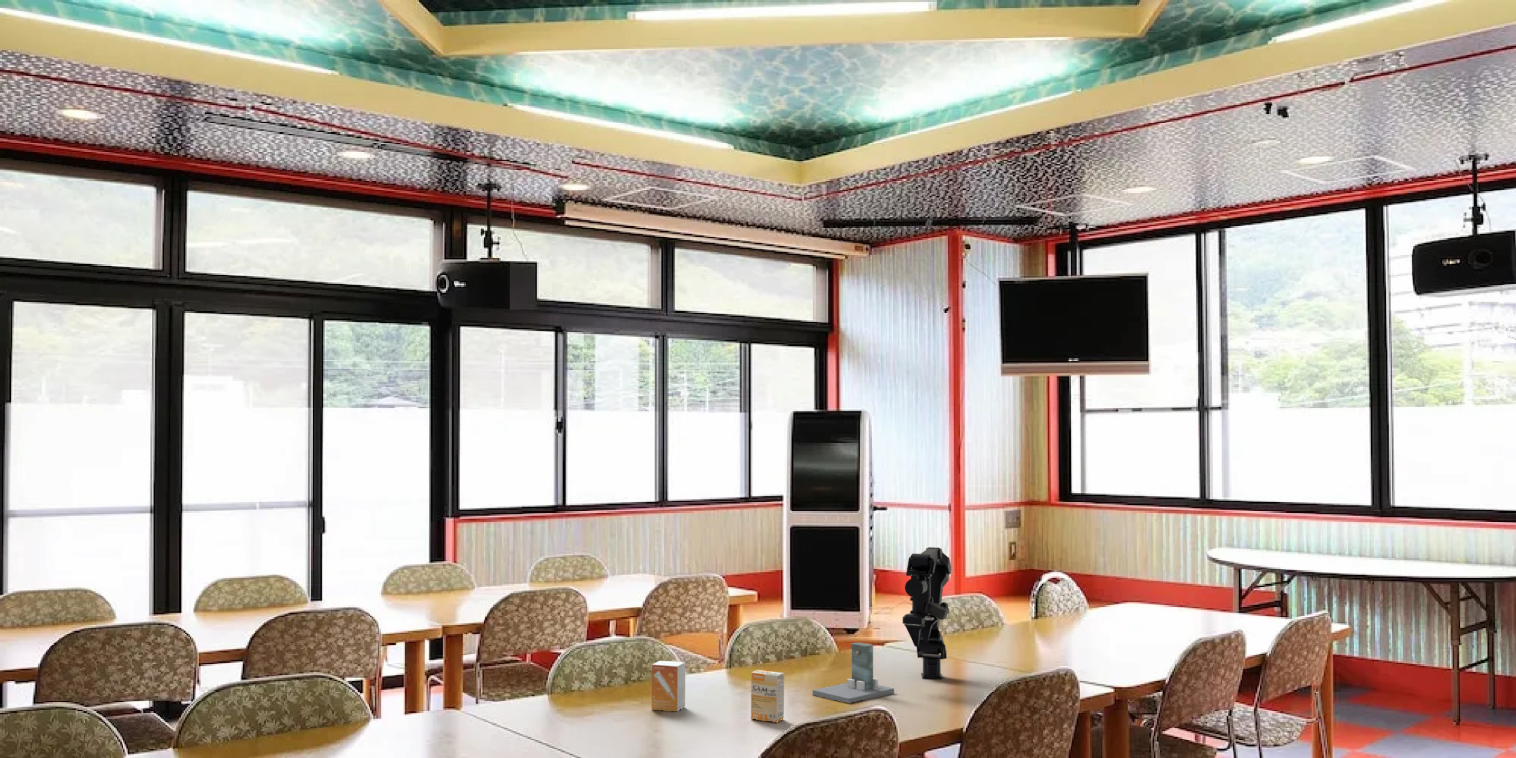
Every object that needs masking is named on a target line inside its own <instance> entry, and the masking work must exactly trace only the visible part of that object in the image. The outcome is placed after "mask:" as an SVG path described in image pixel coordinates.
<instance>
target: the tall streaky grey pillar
mask: <svg viewBox="0 0 1516 758" xmlns="http://www.w3.org/2000/svg"><path fill="white" fill-rule="evenodd" d="M873 678H874V645H873V644H870V643H864V642H859V641H858V642H854V643H853V642H852V643H851V679H853V680H855V687H857V681H863V682H865V689H866V690H867V689H872V688H873Z"/></svg>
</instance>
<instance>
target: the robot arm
mask: <svg viewBox="0 0 1516 758" xmlns="http://www.w3.org/2000/svg"><path fill="white" fill-rule="evenodd" d="M907 560H908V561H907V565H906V566H907V568H906V573H905V575H906V576H907V577H910V579H908V580H907V581H906V583H905V585H904V590H905V593H906V594H907V595H908V596H909V597H910V598H909V601H910V602H911V603H912V604H911V610H909V613H905V615H903V616H902V624H903V625H904V627H905V629H906V630H907V633H908V634H909V637H910V639H911V642H912V643H913V645H914V647H916V656H917V659H918V658H920V659H922V672H921V673H920V675H921V678H922V679H943V675H942V673H941V667H942V666H941V663H942V662H941V661H942V660H945V659H947V657H948V656H947V648H946V644H945V641H944V637H943V635H942V633H941V631H940V621H941V620H942V621H944V620H946V619H947V617H948V614H950V608H949V603H947V602H944V601H943V600H942V599H943V592H944V591H943V590H944V587H945V586H946V584H947V583H948V582H949V581H950V580H949V579H950V575H951V573H952V564H951V560H950V557H949V556H947V554H945V553H944V552H943V549H942V548H940V547H934V546H933V547H931V546H929V547H926V548H925V550H923V552H921V553H911V555H910V556H909V557H908V559H907Z"/></svg>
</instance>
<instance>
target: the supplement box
mask: <svg viewBox="0 0 1516 758" xmlns="http://www.w3.org/2000/svg"><path fill="white" fill-rule="evenodd" d="M750 674H751V678H750V679H751V681H750V682H751V684H750V685H751V686H750V692H751V693H750V699H751V700H750V720H751V719H756V720H755V721H757V720H762V721H761V722H765V721H773V722H772V723H774V722H777V721H780V720H781V719H783V718H785V713H784V712H785V672H779V671H768V670H762V669H757V670H754V671H752V672H751V673H750ZM780 722H781V721H780Z"/></svg>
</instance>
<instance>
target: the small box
mask: <svg viewBox="0 0 1516 758" xmlns="http://www.w3.org/2000/svg"><path fill="white" fill-rule="evenodd" d="M683 707H684V708H685V707H686V662H684V661H673V660H672V661H671V660H668V661H667V660H658V661H656V662H654V663H653V664H651V711H661V710H663V711H662V712H671V711H678V712H680V711H681V710H683V709H684V708H683ZM682 708H683V709H682ZM680 709H681V710H680ZM679 710H680V711H679Z"/></svg>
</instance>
